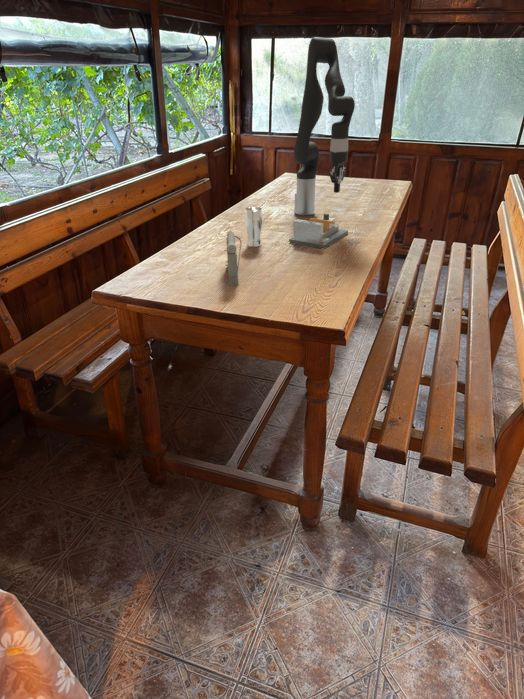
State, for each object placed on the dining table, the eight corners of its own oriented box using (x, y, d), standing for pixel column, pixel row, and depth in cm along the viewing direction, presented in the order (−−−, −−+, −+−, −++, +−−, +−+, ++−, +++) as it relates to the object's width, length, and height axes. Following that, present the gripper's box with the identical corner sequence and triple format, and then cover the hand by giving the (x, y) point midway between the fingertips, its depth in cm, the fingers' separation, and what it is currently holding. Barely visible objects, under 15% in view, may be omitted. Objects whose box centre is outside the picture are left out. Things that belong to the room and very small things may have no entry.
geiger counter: (222, 228, 178) (224, 250, 156) (240, 228, 178) (244, 250, 157) (225, 265, 185) (226, 291, 163) (242, 264, 185) (245, 290, 163)
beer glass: (264, 243, 207) (264, 207, 200) (259, 248, 202) (258, 211, 194) (249, 241, 209) (248, 206, 202) (243, 246, 204) (242, 210, 196)
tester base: (289, 242, 208) (289, 234, 206) (315, 228, 225) (315, 221, 223) (323, 248, 200) (323, 240, 198) (347, 233, 218) (348, 225, 216)
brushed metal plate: (293, 239, 206) (293, 220, 202) (296, 238, 208) (297, 219, 204) (319, 244, 200) (320, 224, 196) (322, 242, 202) (323, 223, 198)
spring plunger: (316, 231, 215) (316, 215, 212) (322, 227, 220) (323, 212, 216) (328, 233, 212) (329, 217, 209) (334, 229, 217) (335, 213, 213)
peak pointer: (309, 230, 216) (309, 218, 213) (310, 230, 216) (310, 217, 214) (333, 234, 210) (334, 221, 207) (334, 234, 211) (335, 221, 208)
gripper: (337, 147, 213) (335, 188, 222) (323, 151, 204) (322, 194, 212) (353, 148, 210) (350, 190, 218) (340, 152, 200) (338, 196, 209)
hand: (336, 192), depth 215 cm, fingers closed
